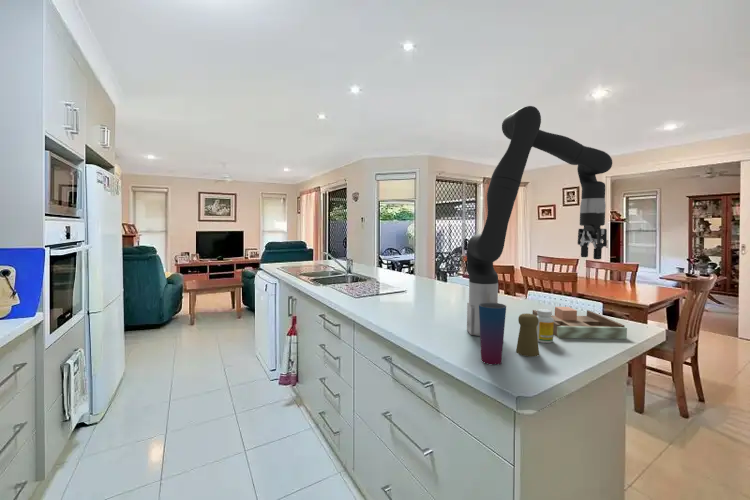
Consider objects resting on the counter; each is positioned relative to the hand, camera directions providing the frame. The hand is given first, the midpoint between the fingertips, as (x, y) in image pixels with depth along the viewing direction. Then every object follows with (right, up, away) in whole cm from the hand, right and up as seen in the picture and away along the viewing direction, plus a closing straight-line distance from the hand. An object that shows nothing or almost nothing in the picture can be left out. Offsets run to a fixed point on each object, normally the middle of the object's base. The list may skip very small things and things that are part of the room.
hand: (590, 258), depth 121 cm
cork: (-33, -26, -24) cm, 49 cm away
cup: (-45, -27, -31) cm, 61 cm away
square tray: (-6, -25, -1) cm, 26 cm away
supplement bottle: (-23, -26, -14) cm, 37 cm away
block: (-6, -22, +6) cm, 24 cm away
